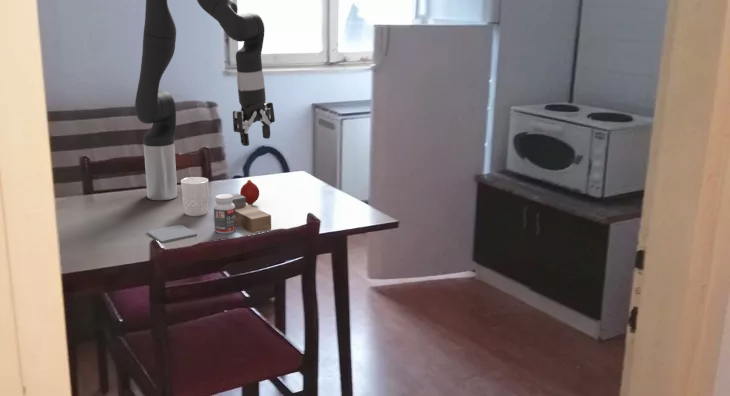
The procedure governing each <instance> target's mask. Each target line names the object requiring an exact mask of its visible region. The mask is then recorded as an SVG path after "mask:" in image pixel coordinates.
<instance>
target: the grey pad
mask: <svg viewBox="0 0 730 396" xmlns="http://www.w3.org/2000/svg"><path fill="white" fill-rule="evenodd" d="M146 232H147V233H148V234H147V233H146V234H147V235H149V236H150V235H151V237H152V238H153V239H154V240H156V239H157V240H156V241H158V240H159V241H158V242H159V243H161V244H163V243H168V242H172V241H176V240H182V239H186V238H191V237H197V235H198V234H197V233H196V232H195V231H193V230H191V229H189V227H186V226H184V225H183V224H176V225H171V226H165V227H161V228H157V229H156V228H155V229H152V230H146Z"/></svg>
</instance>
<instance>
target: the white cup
mask: <svg viewBox="0 0 730 396" xmlns="http://www.w3.org/2000/svg"><path fill="white" fill-rule="evenodd" d="M180 187H181V196H182V197H181V199H182V203H183V209H184V215H187V216H190V217H199V216H200V217H201V216H204V215H207V214H209V211H208V210H209V178H207V177H203V176H202V177H201V176H191V177H185V178H182V179H181V180H180Z"/></svg>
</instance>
